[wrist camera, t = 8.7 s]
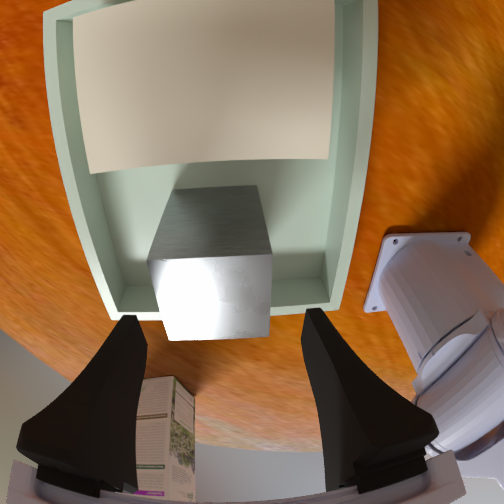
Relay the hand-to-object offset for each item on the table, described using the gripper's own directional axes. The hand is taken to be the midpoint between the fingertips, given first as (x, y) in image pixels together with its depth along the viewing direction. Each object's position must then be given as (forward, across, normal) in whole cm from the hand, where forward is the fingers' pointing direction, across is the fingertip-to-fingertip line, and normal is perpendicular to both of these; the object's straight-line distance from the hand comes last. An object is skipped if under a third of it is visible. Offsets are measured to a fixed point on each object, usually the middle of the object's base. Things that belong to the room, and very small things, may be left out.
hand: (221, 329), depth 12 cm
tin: (+8, 0, 0) cm, 8 cm away
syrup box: (+9, +8, +21) cm, 24 cm away
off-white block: (+8, 0, -10) cm, 13 cm away
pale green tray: (+9, 0, -5) cm, 10 cm away
